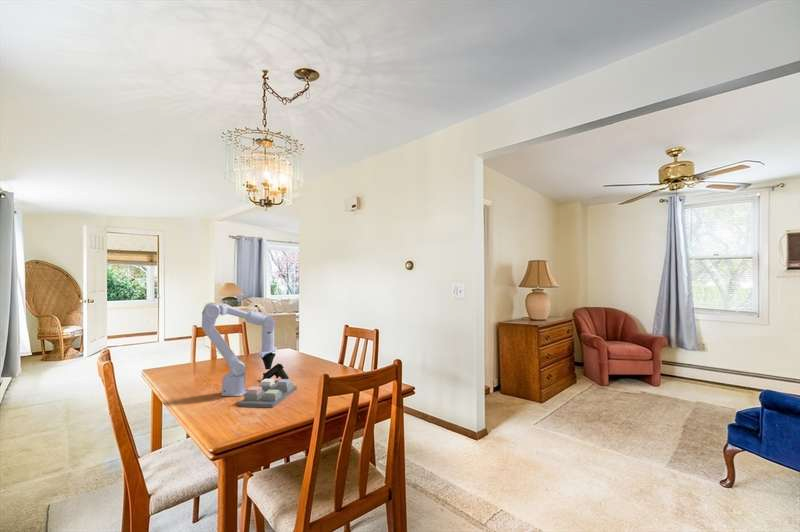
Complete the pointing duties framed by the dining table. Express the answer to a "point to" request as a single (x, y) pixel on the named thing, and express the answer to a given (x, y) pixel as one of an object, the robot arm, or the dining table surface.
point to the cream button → (267, 382)
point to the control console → (267, 396)
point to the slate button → (284, 382)
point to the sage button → (271, 392)
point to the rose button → (254, 390)
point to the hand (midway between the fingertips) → (268, 369)
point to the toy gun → (276, 372)
